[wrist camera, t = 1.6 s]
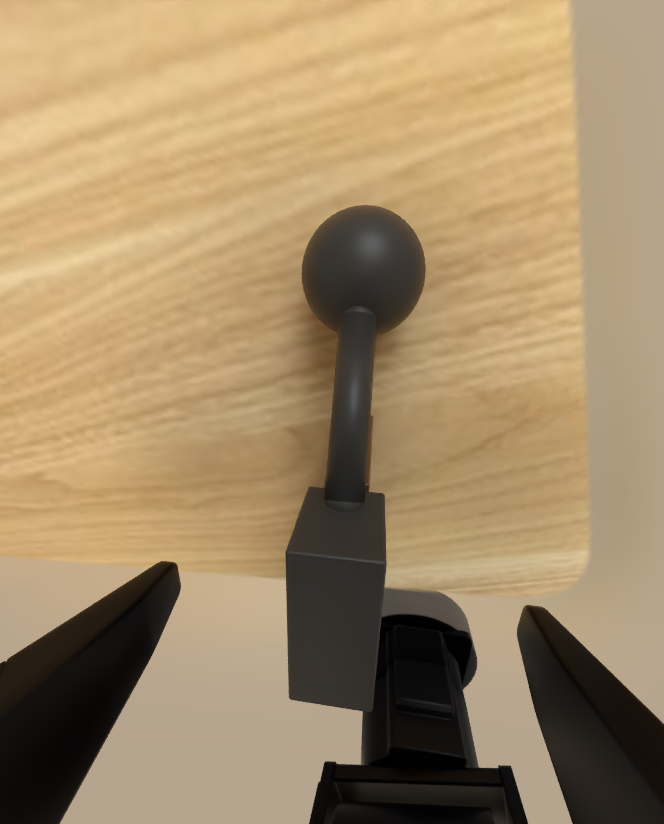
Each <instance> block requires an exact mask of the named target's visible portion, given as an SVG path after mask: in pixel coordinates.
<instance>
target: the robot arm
mask: <svg viewBox="0 0 664 824" xmlns="http://www.w3.org/2000/svg"><path fill="white" fill-rule="evenodd" d="M180 589H181V583H180V578H179V572H178V566H177V564H176V563H174V562H167V561H161V562H159V563H157V564H155V565H154V566H152V567H151V568H149V569H147V570H146V571H144V572H143V573H141V574H140V575H138V576H137V577H135V578H133V579H132V580H130V581H129V582H127V583H126V584H124V585H123V586H121V587H119V588H118V589H116V590H115V591H113V592H112V593H110V594H108V595H107V596H105V597H104V598H102V599H101V600H99V601H98V602H96V603H94V604H93V605H91V606H90V607H88V608H87V609H85V610H83V611H82V612H80V613H79V614H77V615H76V616H74V617H73V618H71V619H69V620H68V621H66V622H65V623H63V624H61V625H60V626H58V627H57V628H55V629H54V630H52V631H51V632H49V633H47V634H46V635H44V636H43V637H41V638H40V639H38V640H36V641H35V642H33V643H32V644H30V645H29V646H27V647H26V648H24V649H22V650H21V651H19V652H18V653H16V654H15V655H13V656H11V657H10V658H9V659H8V660H7V662H6V661H4V662H2V663H0V824H60V822H61V820H62V819H63V817H64V815H65V813H66V811H67V810H68V808H69V806H70V804H71V802H72V800H73V798H74V797H75V795H76V793H77V791H78V790H79V788H80V786H81V784H82V782H83V780H84V778H85V777H86V775H87V773H88V771H89V769H90V768H91V766H92V764H93V762H94V760H95V758H96V757H97V755H98V753H99V751H100V749H101V748H102V746H103V744H104V742H105V740H106V739H107V737H108V735H109V733H110V731H111V729H112V728H113V726H114V724H115V722H116V720H117V719H118V717H119V715H120V713H121V711H122V709H123V708H124V706H125V704H126V702H127V700H128V699H129V697H130V695H131V693H132V691H133V689H134V688H135V686H136V684H137V682H138V680H139V678H140V677H141V675H142V673H143V671H144V669H145V667H146V666H147V664H148V662H149V660H150V658H151V656H152V654H153V652H154V650H155V648H156V646H157V643H158V641H159V639H160V637H161V635H162V632H163V630H164V628H165V625H166V623H167V621H168V619H169V616H170V614H171V612H172V609H173V607H174V605H175V603H176V600H177V598H178V596H179V593H180ZM517 637H518V642H519V647H520V651H521V655H522V659H523V663H524V667H525V672H526V676H527V680H528V684H529V689H530V693H531V697H532V701H533V705H534V708H535V712H536V716H537V719H538V722H539V725H540V728H541V731H542V734H543V737H544V740H545V743H546V746H547V749H548V752H549V755H550V758H551V761H552V764H553V767H554V770H555V773H556V776H557V779H558V782H559V784H560V787H561V790H562V793H563V796H564V799H565V802H566V805H567V808H568V811H569V814H570V817H571V820H572V823H573V824H664V724H663V723H662V722H661V721H660V720H659V719H658V718H657V717H656V716H655V715H654V714H653V713H652V712H651V711H650V710H649V709H648V708H647V707H646V706H645V705H644V704H643V703H642V702H641V701H640V700H639V699H638V698H636V696H634V695H633V693H631V692H630V691H629V690H628V689H627V688H626V687H625V686H624V685H623V684H622V683H621V682H620V681H619V680H618V679H617V678H616V677H615V676H614V675H613V674H612V673H611V672H610V671H609V670H608V669H607V668H606V667H605V666H604V665H603V664H602V663H601V662H600V661H598V659H597V658H595V657H594V656H593V655H592V654H591V653H590V652H589V651H588V650H587V649H586V648H585V647H584V646H583V645H582V644H581V643H580V642H579V641H578V640H577V639H576V638H575V637H574V636H573V635H572V634H571V633H570V632H569V631H568V630H567V629H566V628H565V627H564V626H563V625H561V624H560V622H559V621H558V620H556V619H555V618H554V617H553V616H552V615H551V614H550V613H549V612H548V611H547V610H546V609H545V608H543V607H539V606H532V605H526V606H525V607H524V608H523V610H522V614H521V617H520V621H519V624H518V628H517ZM471 648H472V639H471V635H470V634H469V633H468V632H466V631H462V630H454V629H447V628H439V627H431V626H424V625H416V624H408V623H400V622H393V621H385V620H381V626H380V636H379V647H378V657H377V667H376V678H375V688H374V699H373V709H372V711H371V712H365V711H363V721H362V747H361V765H346V764H337V763H336V762H329V761H328V762H325V763H324V767H323V772H322V776H321V781H320V782H319V783H318V787H317V791H316V796H315V800H314V804H313V809H312V813H311V818H310V823H309V824H528V822H527V818H526V815H525V812H524V809H523V805H522V802H521V798H520V795H519V792H518V788H517V785H516V782H515V778H514V775H513V771H512V768H511V766H498V767H499V768H479V767H478V762H477V757H476V752H475V747H474V742H473V738H472V733H471V727H470V723H469V718H468V712H467V707H466V702H465V697H464V693H463V687H462V686H463V682H464V677H465V673H466V669H467V665H468V661H469V656H470V652H471Z"/></svg>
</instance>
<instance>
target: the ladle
mask: <svg viewBox="0 0 664 824" xmlns="http://www.w3.org/2000/svg"><path fill="white" fill-rule="evenodd" d="M425 269H426V268H425V258H424V253H423V249H422V246H421V243H420V241H419V239H418V237H417V235H416V234H415V232H414V231H413V229H412V228H411V227H410V226H409V224H408V223H407V222H406V221H405V220H403V219H402V218H401V217H400V216H398V215H397V214H395V213H393V212H392V211H390V210H387V209H384V208H381V207H377V206H369V205H362V206H354V207H350V208H347V209H344V210H341V211H339V212H337V213H336V214H334V215H332V216H331V217H330V218H328V219H327V220H326V221H325V222H324V223H323V224H321V225H320V226H319V228H318V229H317V230H316V232H315V233H314V234H313V236H312V238H311V239H310V241H309V243H308V246H307V248H306V251H305V254H304V258H303V263H302V284H303V289H304V293H305V296H306V299H307V301H308V303H309V305H310V307H311V309H312V310H313V312H314V313H315V315H316V316H317V317H318V318H319V319H320V320H321V321H322V322H323V323H324V324H325V325H326V326H328V327H329V328H330V329H332V330H334V331H336V332H338V333H339V335H338V346H337V358H336V370H335V381H334V393H333V404H332V416H331V427H330V439H329V450H328V462H327V474H326V485H325V488H318V487H309V488H308V491H307V493H306V496H305V499H304V502H303V505H302V508H301V510H300V513H299V516H298V519H297V522H296V524H295V527H294V530H293V533H292V536H291V538H290V541H289V544H288V547H287V550H286V591H287V633H288V673H289V675H288V676H289V698H290V699H291V700H297V701H302V702H309V703H315V704H321V705H327V706H334V707H340V708H346V709H353V710H359V711H365V712H371V711H372V709H373V699H374V688H375V678H376V667H377V657H378V647H379V636H380V626H381V615H382V605H383V595H384V584H385V574H386V527H385V496H384V494H383V493H373V492H365V489H366V474H367V459H368V444H369V429H370V414H371V398H372V383H373V368H374V353H375V338H376V336H377V335H381V334H383V333H386V332H388V331H390V330H392V329H393V328H395V327H396V326H398V325H399V324H400V323H401V322H403V321H404V320H405V319H406V318H407V317H408V316H409V314H410V313H411V312H412V310H413V309H414V307H415V306H416V304H417V302H418V300H419V298H420V295H421V293H422V289H423V286H424V281H425Z"/></svg>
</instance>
